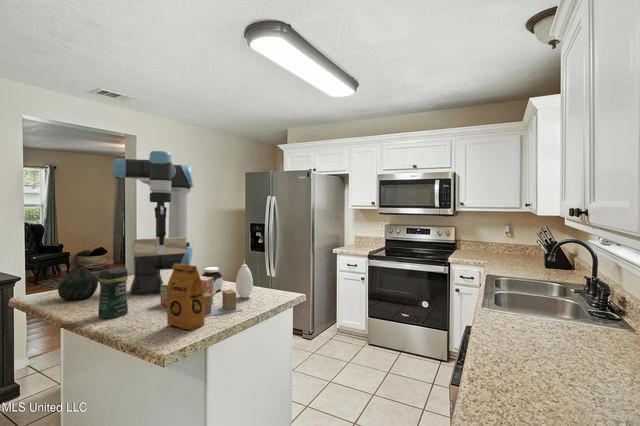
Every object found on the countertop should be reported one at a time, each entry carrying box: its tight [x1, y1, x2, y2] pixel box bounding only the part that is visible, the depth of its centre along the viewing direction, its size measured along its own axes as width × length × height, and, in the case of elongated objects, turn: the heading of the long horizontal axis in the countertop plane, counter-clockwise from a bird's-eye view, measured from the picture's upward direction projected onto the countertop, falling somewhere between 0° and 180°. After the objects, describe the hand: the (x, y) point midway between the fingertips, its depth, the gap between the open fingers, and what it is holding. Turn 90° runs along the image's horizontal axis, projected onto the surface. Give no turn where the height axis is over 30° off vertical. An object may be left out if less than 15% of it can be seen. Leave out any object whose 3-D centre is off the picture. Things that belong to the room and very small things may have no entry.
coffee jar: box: [97, 266, 129, 320], centre depth 129 cm, size 10×8×19 cm
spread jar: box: [201, 266, 223, 295], centre depth 164 cm, size 12×11×12 cm
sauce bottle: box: [235, 259, 254, 299], centre depth 155 cm, size 8×8×18 cm
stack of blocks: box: [159, 275, 214, 307], centre depth 143 cm, size 21×6×12 cm, turn 80°
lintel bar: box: [132, 237, 186, 257], centre depth 128 cm, size 4×18×6 cm, turn 129°
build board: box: [204, 289, 243, 318], centre depth 136 cm, size 10×18×7 cm, turn 121°
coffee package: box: [166, 264, 205, 331], centre depth 119 cm, size 10×12×22 cm
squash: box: [57, 267, 99, 301], centre depth 152 cm, size 14×15×15 cm
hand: (160, 252), depth 128 cm, fingers closed on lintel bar, 4 cm apart
